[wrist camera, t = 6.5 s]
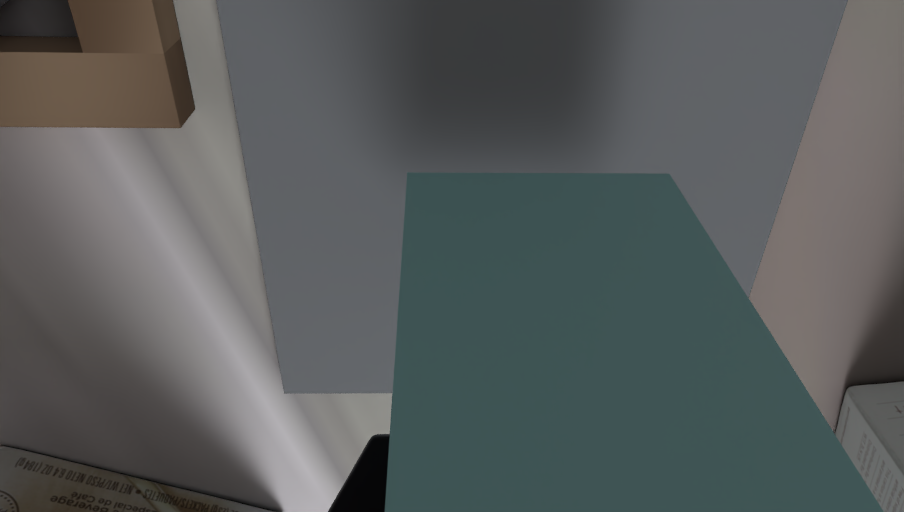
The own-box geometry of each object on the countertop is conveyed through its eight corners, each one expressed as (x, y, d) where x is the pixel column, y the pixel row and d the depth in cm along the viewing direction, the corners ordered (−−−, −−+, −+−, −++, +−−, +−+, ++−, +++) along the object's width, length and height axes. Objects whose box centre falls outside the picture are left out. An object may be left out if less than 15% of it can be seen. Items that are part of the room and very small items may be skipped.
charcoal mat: (287, 380, 19) (284, 393, 18) (207, -102, 12) (199, -99, 12) (710, 379, 19) (717, 392, 19) (862, -91, 12) (876, -87, 12)
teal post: (411, 367, 14) (382, 1192, 6) (407, 172, 11) (341, 1148, 3) (626, 365, 14) (904, 1171, 6) (669, 173, 12) (1263, 1110, 3)
